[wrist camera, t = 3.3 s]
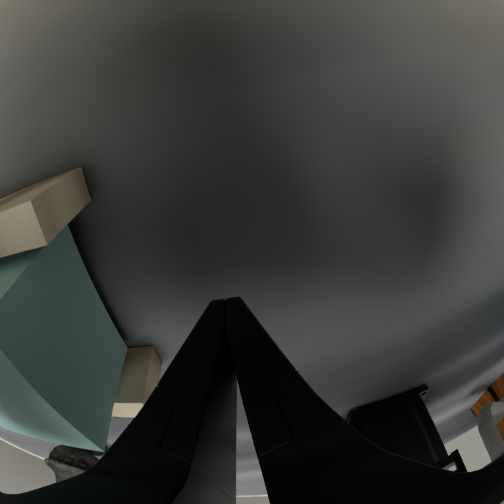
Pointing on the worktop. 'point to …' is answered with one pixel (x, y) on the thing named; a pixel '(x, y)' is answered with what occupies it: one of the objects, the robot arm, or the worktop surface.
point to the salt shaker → (71, 461)
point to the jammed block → (56, 348)
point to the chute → (41, 234)
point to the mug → (491, 418)
